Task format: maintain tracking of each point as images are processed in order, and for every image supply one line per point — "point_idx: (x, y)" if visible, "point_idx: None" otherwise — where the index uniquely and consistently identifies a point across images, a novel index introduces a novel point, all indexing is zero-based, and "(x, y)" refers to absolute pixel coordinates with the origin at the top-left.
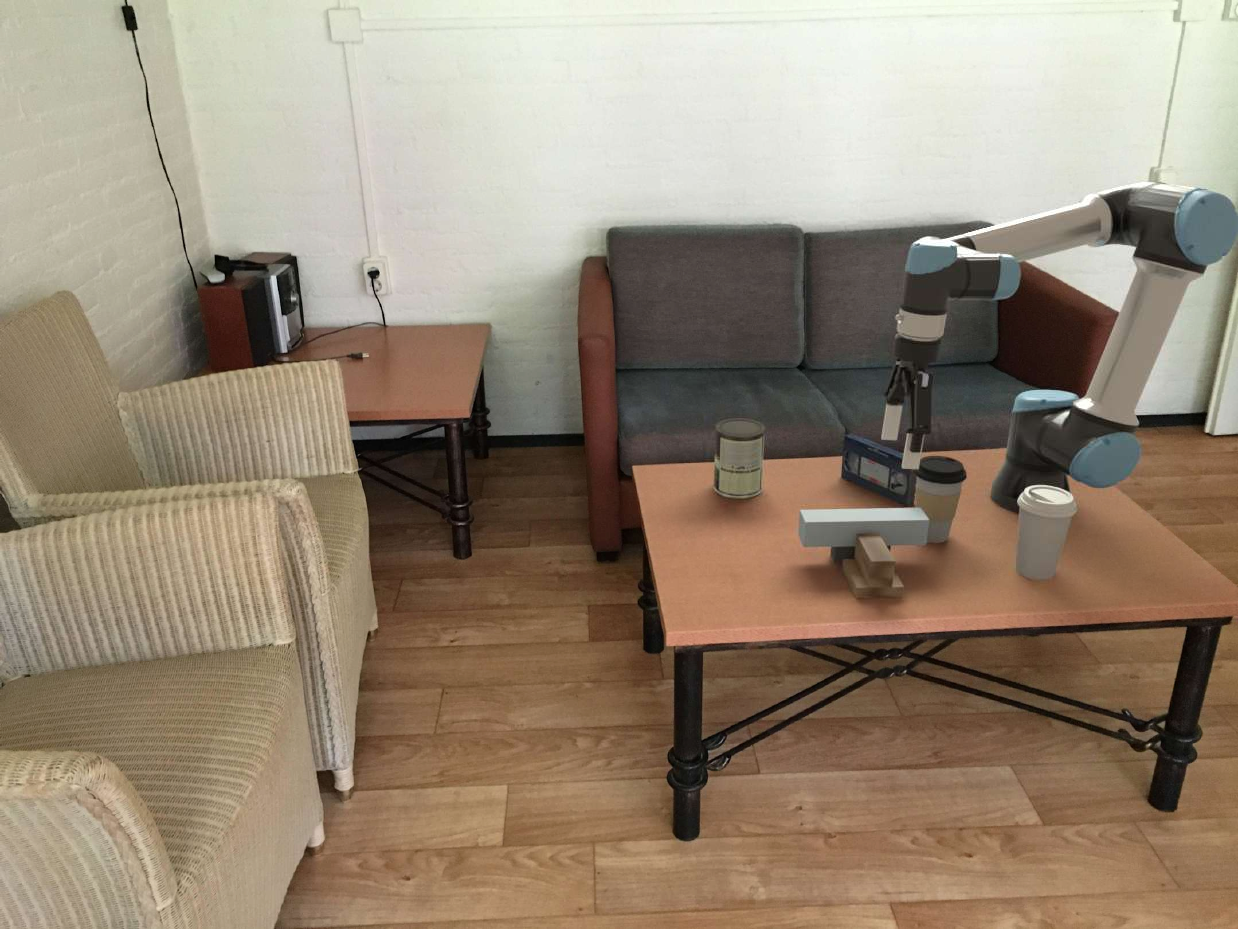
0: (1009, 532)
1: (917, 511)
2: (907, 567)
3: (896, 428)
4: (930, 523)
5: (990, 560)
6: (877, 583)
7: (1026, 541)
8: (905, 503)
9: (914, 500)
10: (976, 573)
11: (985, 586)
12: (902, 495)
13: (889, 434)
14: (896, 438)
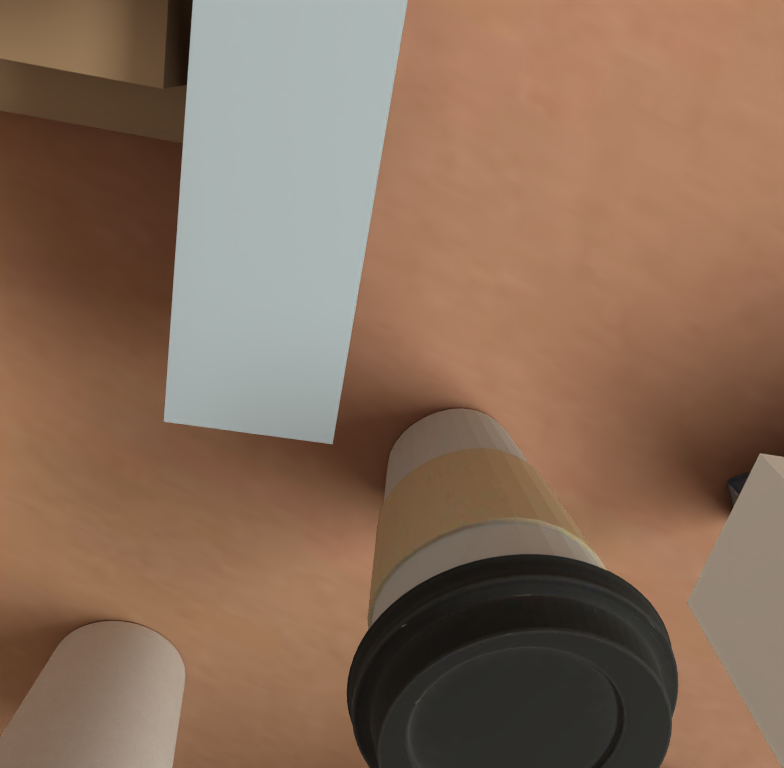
0: None
1: (286, 405)
2: None
3: (773, 707)
4: (404, 472)
5: (215, 576)
6: None
7: (24, 735)
8: (739, 485)
9: None
10: (118, 488)
11: (11, 473)
12: None
13: (763, 572)
14: (700, 612)
